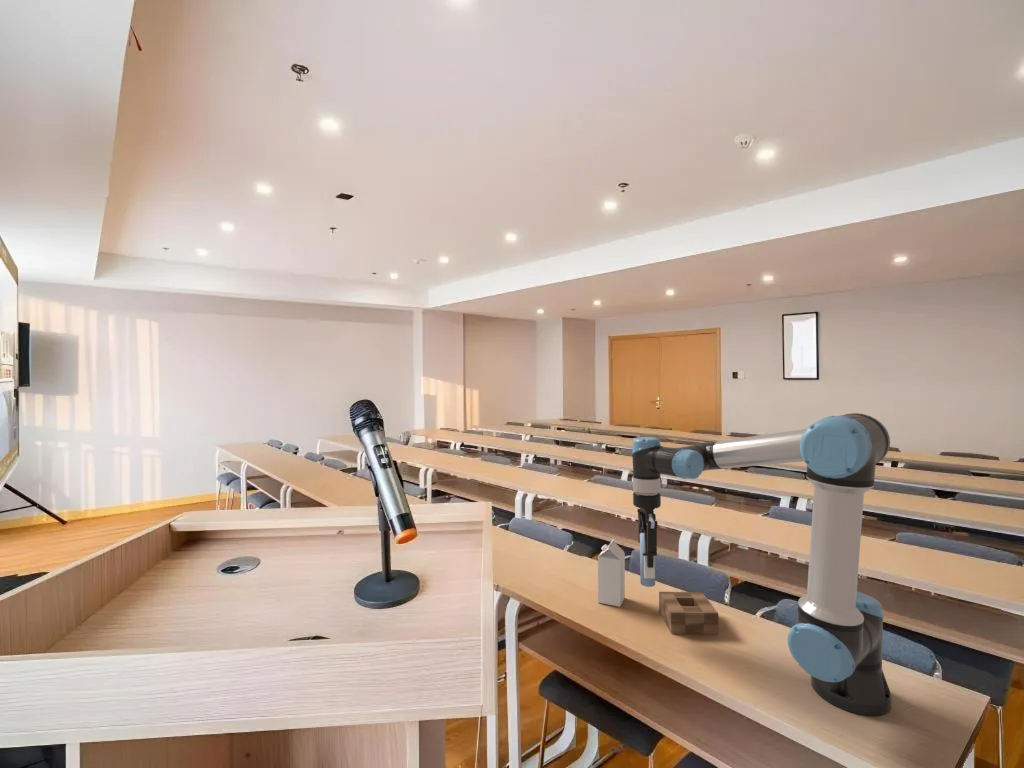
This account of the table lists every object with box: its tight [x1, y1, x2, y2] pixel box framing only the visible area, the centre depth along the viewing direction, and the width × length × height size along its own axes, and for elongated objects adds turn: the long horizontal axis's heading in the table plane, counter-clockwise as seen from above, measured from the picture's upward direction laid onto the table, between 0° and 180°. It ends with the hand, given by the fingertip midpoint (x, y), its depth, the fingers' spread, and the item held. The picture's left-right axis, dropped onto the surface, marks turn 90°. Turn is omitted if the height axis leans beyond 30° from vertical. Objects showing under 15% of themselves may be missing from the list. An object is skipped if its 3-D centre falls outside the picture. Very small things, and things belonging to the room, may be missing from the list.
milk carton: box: [597, 538, 626, 608], centre depth 158 cm, size 7×7×19 cm
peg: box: [639, 533, 656, 588], centre depth 139 cm, size 4×4×14 cm
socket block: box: [658, 591, 719, 635], centre depth 145 cm, size 13×13×6 cm
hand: (647, 574), depth 139 cm, fingers closed on peg, 4 cm apart
